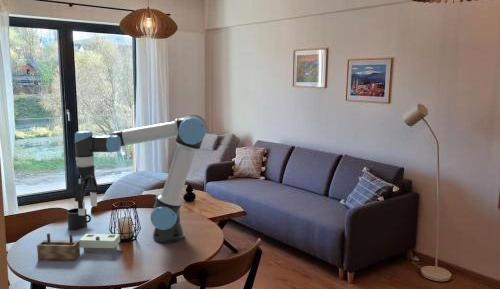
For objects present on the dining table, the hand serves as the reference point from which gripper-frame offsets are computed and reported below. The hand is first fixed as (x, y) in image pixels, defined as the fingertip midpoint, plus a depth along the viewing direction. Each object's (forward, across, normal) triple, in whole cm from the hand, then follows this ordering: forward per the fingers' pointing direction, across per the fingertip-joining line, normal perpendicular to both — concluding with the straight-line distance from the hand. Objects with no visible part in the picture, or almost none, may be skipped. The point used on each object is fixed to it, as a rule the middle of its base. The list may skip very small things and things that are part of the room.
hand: (88, 210), depth 196 cm
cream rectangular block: (+16, +1, +5) cm, 17 cm away
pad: (+19, +1, +5) cm, 20 cm away
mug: (+19, -28, -17) cm, 38 cm away
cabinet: (+19, +10, -10) cm, 24 cm away
